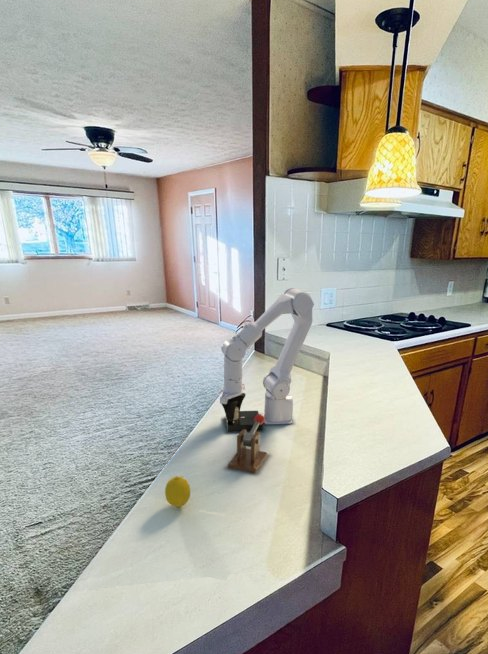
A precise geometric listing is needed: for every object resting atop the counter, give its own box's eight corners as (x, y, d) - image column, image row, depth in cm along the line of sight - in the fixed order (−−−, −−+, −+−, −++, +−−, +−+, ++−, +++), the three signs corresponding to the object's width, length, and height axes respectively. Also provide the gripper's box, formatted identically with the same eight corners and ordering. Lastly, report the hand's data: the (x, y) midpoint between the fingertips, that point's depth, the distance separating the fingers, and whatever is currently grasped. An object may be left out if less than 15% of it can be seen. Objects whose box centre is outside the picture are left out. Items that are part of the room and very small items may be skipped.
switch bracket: (241, 451, 120) (241, 423, 116) (267, 456, 118) (268, 428, 115) (227, 468, 111) (227, 439, 107) (255, 473, 109) (256, 444, 106)
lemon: (184, 515, 91) (183, 485, 88) (161, 511, 92) (159, 481, 89) (194, 501, 96) (193, 472, 93) (172, 497, 97) (171, 468, 94)
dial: (240, 416, 136) (240, 406, 134) (235, 420, 132) (235, 410, 131) (230, 414, 137) (230, 404, 135) (225, 419, 133) (225, 408, 132)
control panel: (257, 417, 142) (257, 410, 141) (262, 431, 132) (262, 423, 131) (220, 418, 140) (220, 411, 139) (221, 432, 130) (221, 425, 129)
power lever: (256, 419, 121) (255, 411, 119) (266, 421, 120) (265, 413, 118) (242, 446, 112) (241, 437, 110) (252, 448, 111) (251, 439, 109)
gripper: (231, 369, 137) (231, 406, 142) (210, 382, 124) (211, 423, 129) (251, 372, 135) (250, 410, 140) (232, 386, 122) (231, 427, 127)
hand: (232, 416), depth 134 cm, fingers closed on dial, 3 cm apart
